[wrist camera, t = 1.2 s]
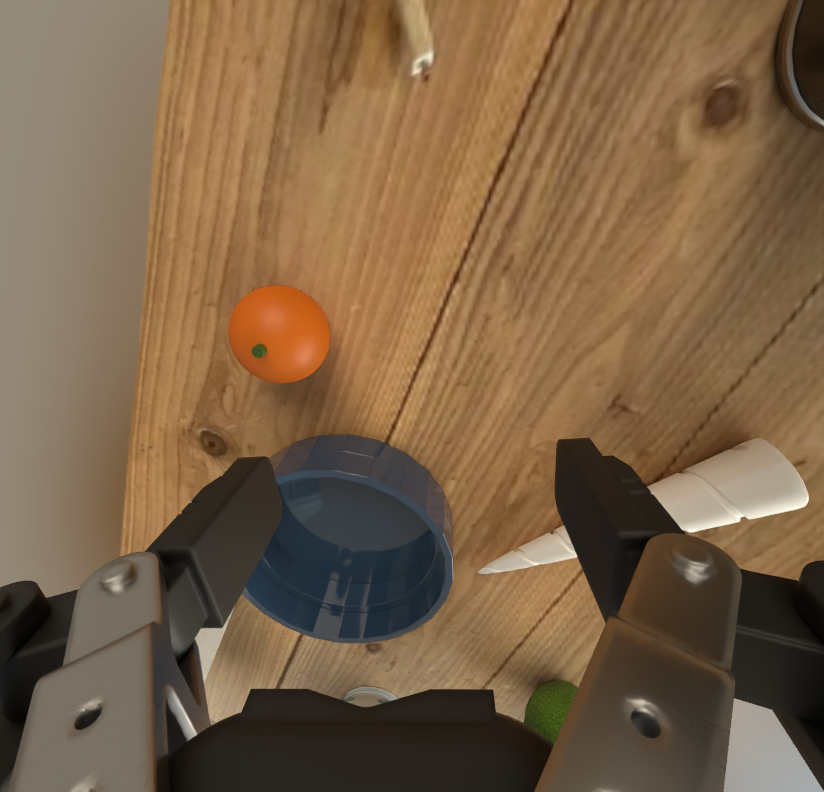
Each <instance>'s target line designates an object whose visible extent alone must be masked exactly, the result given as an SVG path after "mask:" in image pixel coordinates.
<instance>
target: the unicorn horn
mask: <svg viewBox="0 0 824 792" xmlns="http://www.w3.org/2000/svg"><path fill="white" fill-rule="evenodd" d="M647 487H648V488H649V490H650V491H651V494H653V495H654V496H655V497H656V498H657V499H658V501H659V502H660V503H661V504H662V506H663V507H664V508H665V509H666V511H667V512H668V513H669V514H670V515H671V517H672V518H673V519H674V520H675V522H676V523H677V524H678V525H679V527H680V528H681V529H682V530H683V531H684V530H686V531H688V532H690V533H691V532H696V531H700V530H705V529H709V528H714V527H718V526H723V525H727V524H732V523H736V522H740V517H746V518H748V519H749V520H750V519H754V518H759V517H763V516H768V515H773V514H777V513H782V512H787V511H791V510H796V509H799V508H802V507H805V506H806V505H807V503H808V500H809V495H808V492H807V489H806V486H805V484H804V482H803V480H802V479H801V477H800V475H799V474H798V472H797V470H796V469H795V468H794V467H793V465H792V464H791V463H790V462H789V460H788V459H787V458H786V457H785V456H784V455H783V454H782V453H781V452H780V451H779V450H778V449H777V448H775V447H774V446H773V445H772V444H771V443H769V442H767V441H765V440H763V439H757V438H755V439H752V440H749V441H746V442H743V443H741V444H738V445H736V446H734V447H732V449H729V450H726V451H724V452H721V453H719V454H717V455H715V456H713V457H711V458H708V459H706V460H704V461H702V462H700V463H697V464H695V465H693V466H691V467H689V468H686V469H684V470H682V473H676V474H673V475H671V476H669V477H667V478H665V479H662V480H660V481H658V482H656V483H654V484H651V485H649V486H647ZM572 558H577V554H576V552H575V550H574V547H573V545H572V543H571V540H570V538H569V536H568V533H567V531H566V529H565V526H564V525H563V526H561V527H559V528H557V529H554V530H553V534H550V533H546V534H544V535H542V536H540V537H538V538H536V539H534V540H532V541H530V542H528V543H526V544H524V545H522V546H520V547H518V548H517V549H516V551H510V552H508V553H506V554H505V555H503V556H501V557H499V558H497V559H495V560H494V561H492V562H490V563H489V564H487V565H485V566H484V568H482V569H480V570H479V571H478V572H477V573H479V574H490V573H498V572H501V571H504V572H505V571H511V570H516V569H522V568H527V567H532V566H537V565H539V564H547V563H552V562H557V561H562V560H567V559H572Z"/></svg>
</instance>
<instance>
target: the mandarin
mask: <svg viewBox="0 0 824 792" xmlns="http://www.w3.org/2000/svg"><path fill="white" fill-rule="evenodd" d="M228 334H229V342H230V346H231V349H232V351H233V353H234V355H235V357H236V358H237V360H238V361H239V363H240V364H241V365H242V366H243V367H244V368H245V369H246V370H247V371H248V372H250V373H251V374H253V375H254V376H256V377H258V378H260V379H262V380H265V381H269V382H274V383H290V382H295V381H298V380H301V379H303V378H305V377H307V376H309V375H310V374H312V373H313V372H314V371H315V370H316V369H317V368H318V367H319V366H320V365H321V364H322V362H323V361H324V359H325V357H326V355H327V353H328V350H329V345H330V328H329V324H328V321H327V318H326V316H325V314H324V312H323V310H322V309H321V307H320V306H319V305H318V304H317V303H316V302H315V301H314V300H313V299H312V298H311V297H310V296H308V295H307V294H305V293H303V292H302V291H300V290H297V289H295V288H292V287H287V286H280V285H273V286H266V287H262V288H259V289H257V290H255V291H253V292H251V293H249V294H248V295H246V296H245V297H244V298H243V299H242V300H241V301H240V302H239V303H238V305H237V306H236V307H235V309H234V311H233V313H232V316H231V318H230V322H229V331H228Z"/></svg>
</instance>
